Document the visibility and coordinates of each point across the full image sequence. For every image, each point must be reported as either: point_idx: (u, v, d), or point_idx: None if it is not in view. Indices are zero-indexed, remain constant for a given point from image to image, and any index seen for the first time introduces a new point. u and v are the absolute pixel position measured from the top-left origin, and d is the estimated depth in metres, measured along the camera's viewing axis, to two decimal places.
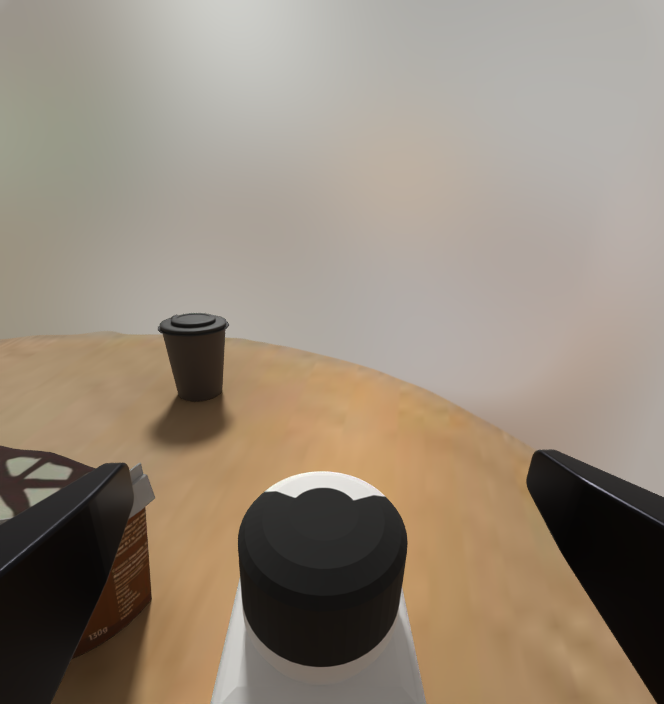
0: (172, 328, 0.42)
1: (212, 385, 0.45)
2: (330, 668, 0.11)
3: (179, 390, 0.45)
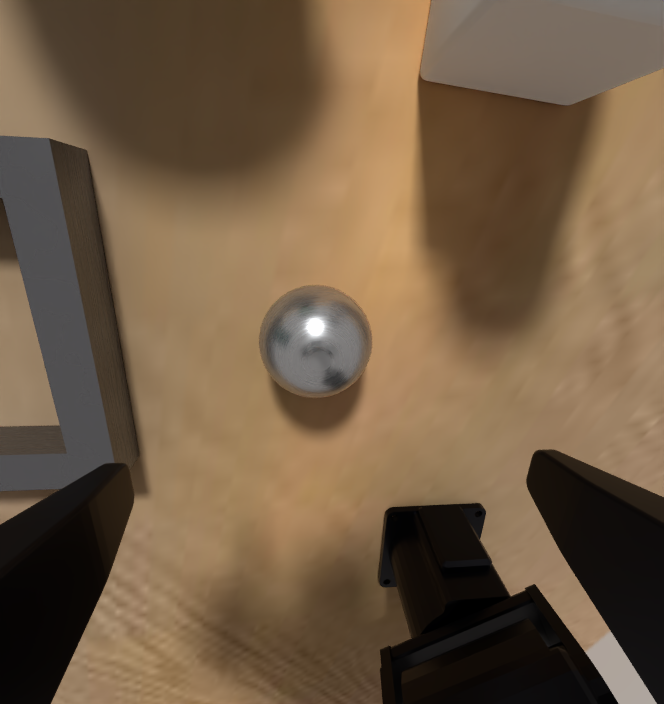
0: None
1: None
2: None
3: None
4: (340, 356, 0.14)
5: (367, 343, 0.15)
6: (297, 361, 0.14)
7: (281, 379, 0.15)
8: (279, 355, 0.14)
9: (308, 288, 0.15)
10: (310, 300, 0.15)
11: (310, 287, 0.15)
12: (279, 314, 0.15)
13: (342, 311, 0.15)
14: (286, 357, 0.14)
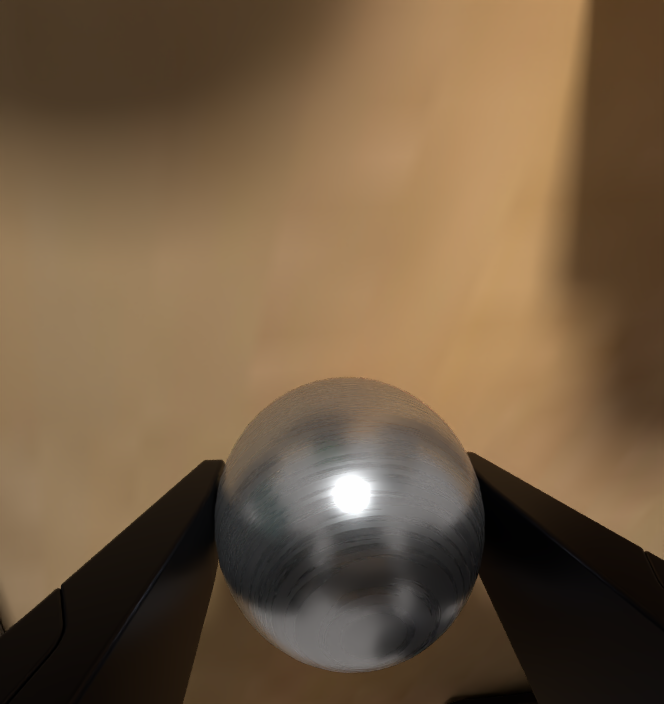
0: None
1: None
2: None
3: None
4: (430, 615, 0.05)
5: (483, 542, 0.06)
6: (309, 635, 0.05)
7: (267, 639, 0.06)
8: (259, 604, 0.05)
9: (334, 401, 0.06)
10: (345, 451, 0.05)
11: (339, 396, 0.06)
12: (260, 485, 0.05)
13: (432, 479, 0.05)
14: (278, 617, 0.05)
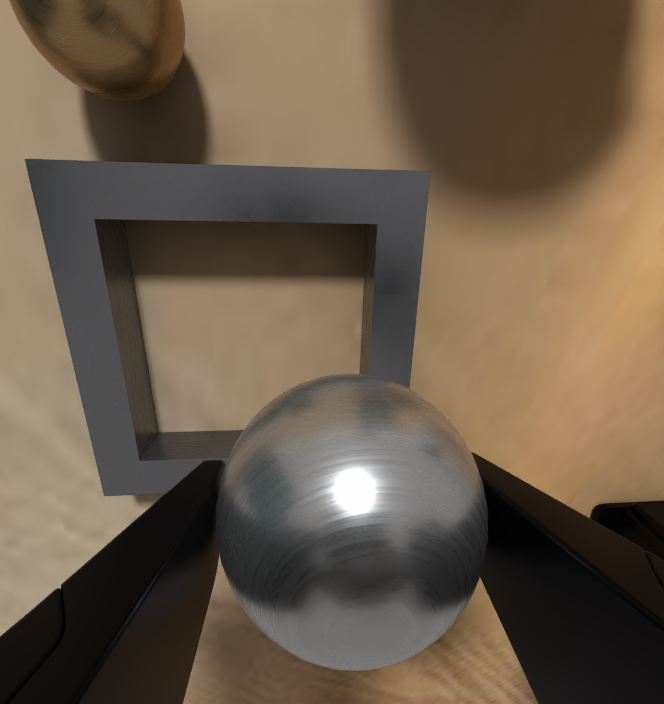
0: None
1: None
2: None
3: None
4: (434, 612, 0.05)
5: (486, 539, 0.06)
6: (312, 632, 0.05)
7: (268, 637, 0.06)
8: (261, 602, 0.05)
9: (337, 397, 0.06)
10: (347, 447, 0.05)
11: (341, 393, 0.06)
12: (261, 481, 0.05)
13: (435, 475, 0.05)
14: (280, 615, 0.05)
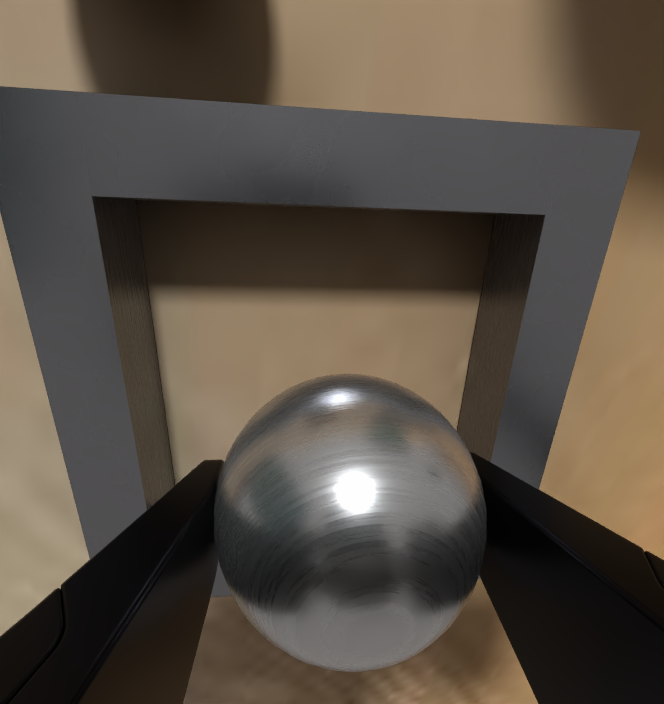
0: None
1: None
2: None
3: None
4: (432, 613, 0.05)
5: (485, 539, 0.06)
6: (309, 633, 0.05)
7: None
8: (258, 603, 0.05)
9: (335, 397, 0.06)
10: (344, 446, 0.05)
11: (339, 393, 0.06)
12: (259, 482, 0.05)
13: (434, 475, 0.05)
14: (278, 616, 0.05)
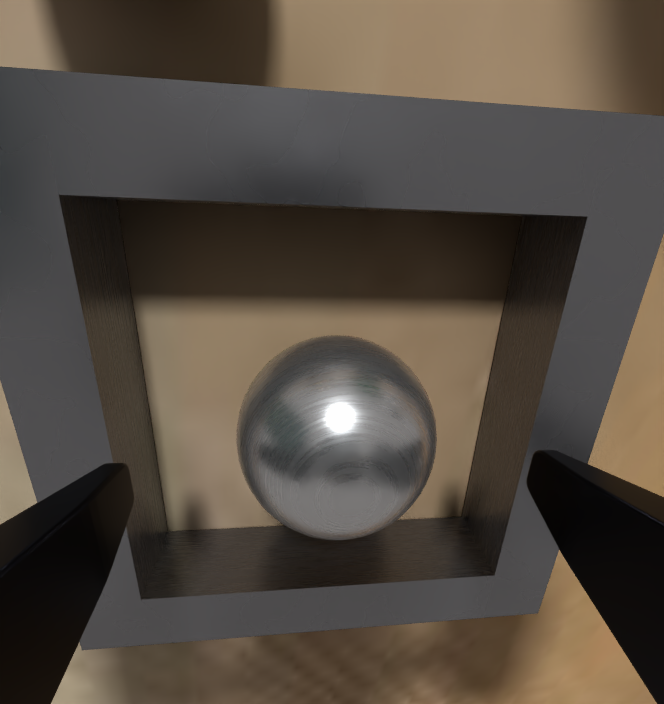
0: None
1: None
2: None
3: None
4: (391, 486, 0.07)
5: (433, 447, 0.08)
6: (308, 498, 0.07)
7: (277, 517, 0.08)
8: (272, 482, 0.08)
9: (325, 346, 0.08)
10: (332, 375, 0.08)
11: (328, 344, 0.08)
12: (272, 401, 0.08)
13: (393, 396, 0.08)
14: (286, 489, 0.07)
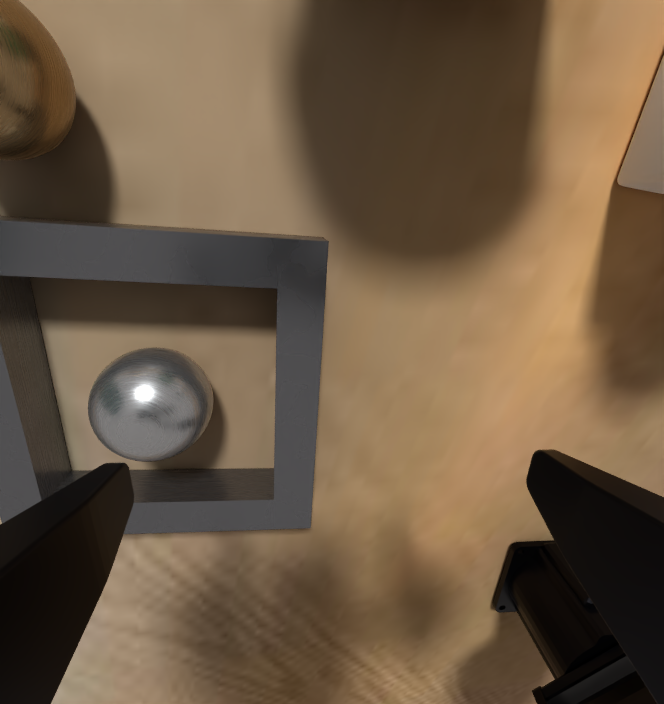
0: None
1: None
2: None
3: None
4: (159, 427, 0.14)
5: (196, 410, 0.15)
6: (113, 433, 0.14)
7: (106, 446, 0.15)
8: (98, 425, 0.14)
9: (137, 354, 0.15)
10: (131, 370, 0.15)
11: (140, 353, 0.15)
12: (100, 383, 0.15)
13: (165, 381, 0.15)
14: (103, 428, 0.14)
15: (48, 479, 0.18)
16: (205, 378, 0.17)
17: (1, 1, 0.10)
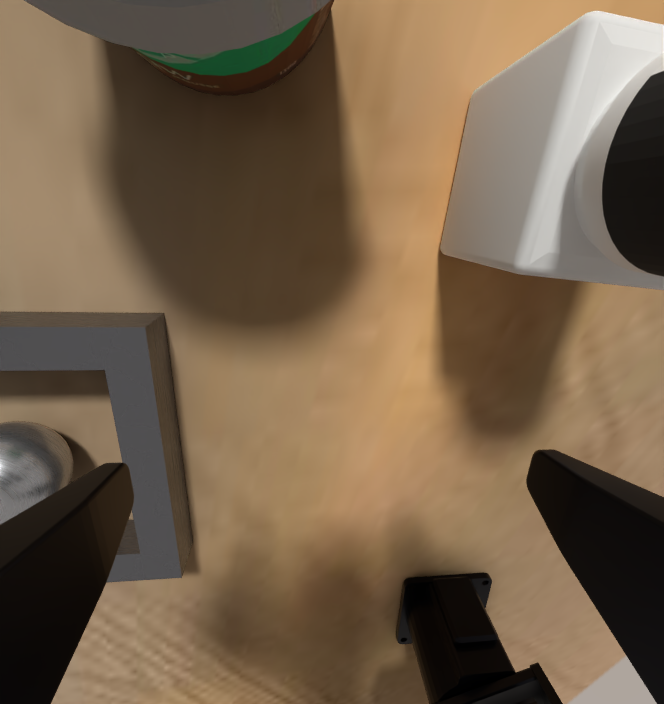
0: None
1: None
2: None
3: None
4: None
5: (40, 481, 0.17)
6: None
7: None
8: None
9: None
10: None
11: None
12: None
13: (3, 459, 0.16)
14: None
15: None
16: (57, 448, 0.18)
17: None
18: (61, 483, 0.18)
